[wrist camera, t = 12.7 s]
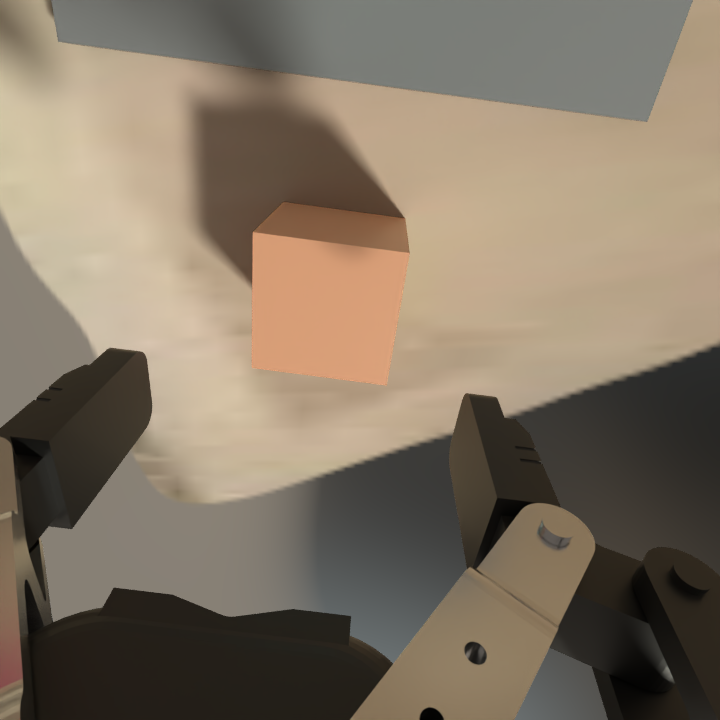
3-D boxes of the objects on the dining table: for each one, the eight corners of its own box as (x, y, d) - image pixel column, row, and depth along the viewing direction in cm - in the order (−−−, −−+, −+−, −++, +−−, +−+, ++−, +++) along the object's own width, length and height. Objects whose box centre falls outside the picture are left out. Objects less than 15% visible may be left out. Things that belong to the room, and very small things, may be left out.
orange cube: (283, 201, 19) (252, 231, 15) (405, 217, 19) (409, 253, 15) (279, 313, 22) (251, 367, 17) (387, 327, 22) (386, 385, 17)
